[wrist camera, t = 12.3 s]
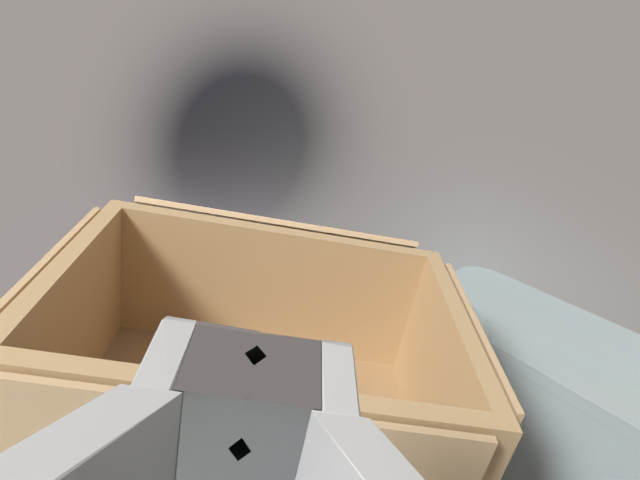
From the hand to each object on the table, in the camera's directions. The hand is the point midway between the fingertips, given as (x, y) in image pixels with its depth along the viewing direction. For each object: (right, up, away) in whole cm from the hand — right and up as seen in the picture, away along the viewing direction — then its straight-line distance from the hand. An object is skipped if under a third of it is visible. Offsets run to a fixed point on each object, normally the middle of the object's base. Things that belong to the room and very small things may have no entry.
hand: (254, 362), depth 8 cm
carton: (-2, -7, +17) cm, 19 cm away
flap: (-1, +3, +20) cm, 20 cm away
